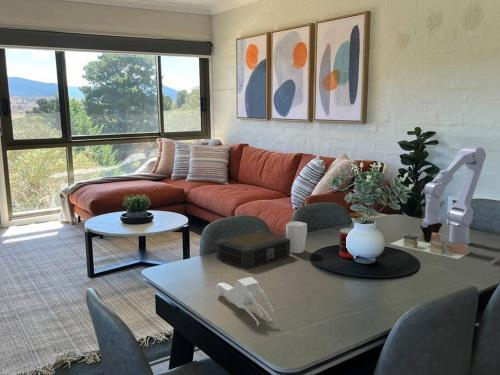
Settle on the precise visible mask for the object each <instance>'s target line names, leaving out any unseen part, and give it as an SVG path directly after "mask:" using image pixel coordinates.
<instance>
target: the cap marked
mask: <svg viewBox="0 0 500 375" xmlns="http://www.w3.org/2000/svg"><path fill="white" fill-rule="evenodd" d="M433 240H440V241H441V233H440V232H438V233H434V232H432V236H431V240H430V242H429V243H431V241H433ZM421 241H425V240H424V235H423V232H422V233H421Z"/></svg>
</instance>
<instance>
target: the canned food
mask: <svg viewBox="0 0 500 375" xmlns="http://www.w3.org/2000/svg"><path fill="white" fill-rule="evenodd" d="M352 229H354V228H349V227H345V228H341V229H340V231H339V232H340V233H339V256H340V257H341V258H342V257H343V259H346V258H353V256H352V255H351V254H350V253H349V252H348V250H347V248H346V237H347V235H348V233H349V232H350V231H351V230H352Z"/></svg>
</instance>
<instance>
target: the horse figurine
mask: <svg viewBox="0 0 500 375" xmlns="http://www.w3.org/2000/svg"><path fill="white" fill-rule="evenodd" d="M215 293H216V295H217V297H218V298H222V297H224V295H226V296H227V298H228V299H230V300H231V301H232V303H233V304H234V305H235V306H236V307H237V308H238V309H244V310H245V311H246V313H248V314H249V315H250V316H251V318H253V320H254V321H255V322H256V326H257V327H259V326H260V323H261V322H259V321H258V319H257V318H256V316H255V314H253V312H251V310H249V308H248V307H247V306H252V305H253V306H255V308H256V309H257V312H258V314H259V317H260V319H261V318H262V317H263V316H264V315H265V316H266V317H267V319H268V323H271V322H272V320H273V319H272V318H271V317H270V315H269V314H268V313H267V311H265V309H264V308H263V307H262V306H261V305H260V304H259V303H258V302H257V298H258V293H259V294H260V295H262V297H263V298H264V300H265V301H266V303H267V305H268V307H269V309H270V312H271V315H274V313H275V310H274V308H273V306H272V305H271V303H270V301H269V299H268V297H267V295H266V293H265V291H264V290H263V289H262V288H261V286H260V283H259V282H258V280H256V279H255V278H254V277H252V276H249V277H244V278H241V279H237V281H236V282H235V284H234V285H233V286H231V285H230V284H228V283H225V282H219V283H216V285H215Z"/></svg>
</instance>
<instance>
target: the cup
mask: <svg viewBox="0 0 500 375" xmlns="http://www.w3.org/2000/svg"><path fill="white" fill-rule="evenodd" d="M285 226H286V227H285V234H286V235H285V237H286V238H288V239H290V254H301V253H304V252H305V246H306V242H307V241H306V240H307V234H308V228H307V227H308V225H307V223H306V222H303V221H289V222H288V221H287V223H286V225H285Z"/></svg>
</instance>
